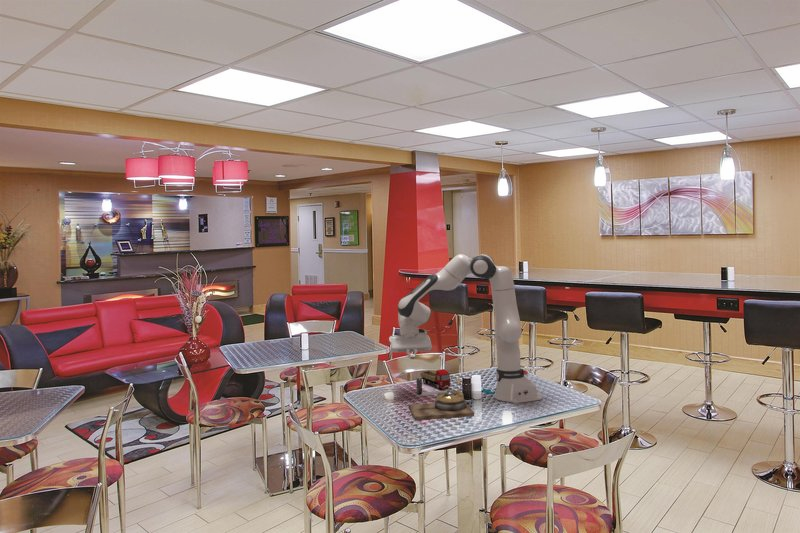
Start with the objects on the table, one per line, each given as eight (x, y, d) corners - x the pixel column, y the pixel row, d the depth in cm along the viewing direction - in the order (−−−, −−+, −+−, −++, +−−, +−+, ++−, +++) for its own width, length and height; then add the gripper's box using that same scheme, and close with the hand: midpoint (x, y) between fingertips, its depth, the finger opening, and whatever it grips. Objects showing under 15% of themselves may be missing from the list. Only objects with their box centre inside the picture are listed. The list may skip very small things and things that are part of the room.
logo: (450, 379, 291) (466, 376, 295) (450, 381, 291) (466, 378, 295) (485, 394, 260) (502, 390, 264) (485, 396, 260) (502, 393, 264)
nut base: (463, 404, 246) (463, 395, 246) (474, 415, 228) (474, 406, 228) (408, 407, 243) (408, 399, 243) (415, 420, 225) (414, 410, 225)
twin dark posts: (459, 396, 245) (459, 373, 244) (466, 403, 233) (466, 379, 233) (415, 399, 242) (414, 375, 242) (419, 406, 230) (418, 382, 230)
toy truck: (441, 391, 269) (440, 372, 269) (420, 383, 287) (420, 365, 287) (452, 389, 273) (451, 370, 272) (431, 381, 291) (430, 363, 290)
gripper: (388, 331, 259) (391, 355, 249) (429, 329, 261) (434, 353, 252) (388, 339, 263) (390, 362, 254) (428, 337, 266) (432, 360, 256)
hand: (412, 358), depth 253 cm, fingers closed
